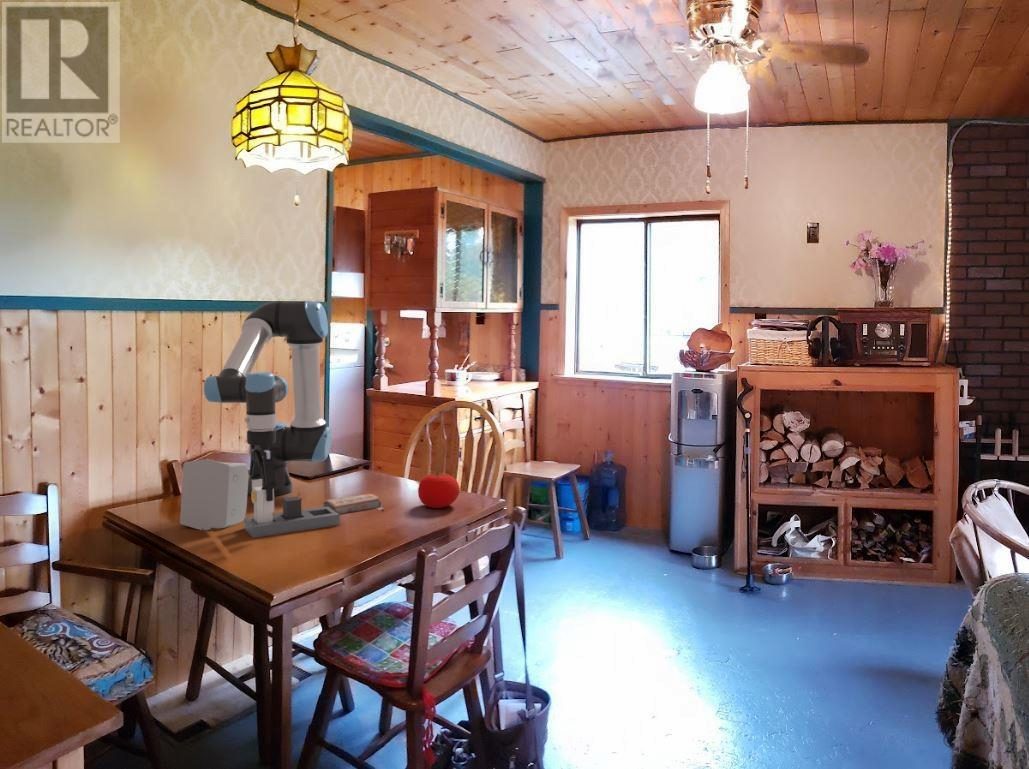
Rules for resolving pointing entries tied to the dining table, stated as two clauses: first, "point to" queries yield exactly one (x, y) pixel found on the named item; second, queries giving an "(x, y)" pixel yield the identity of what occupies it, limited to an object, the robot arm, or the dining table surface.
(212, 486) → the electrical switch box
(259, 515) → the plug
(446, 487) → the tomato
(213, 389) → the robot arm
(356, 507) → the packaged product
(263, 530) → the socket strip
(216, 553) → the dining table surface
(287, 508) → the dark grey block
